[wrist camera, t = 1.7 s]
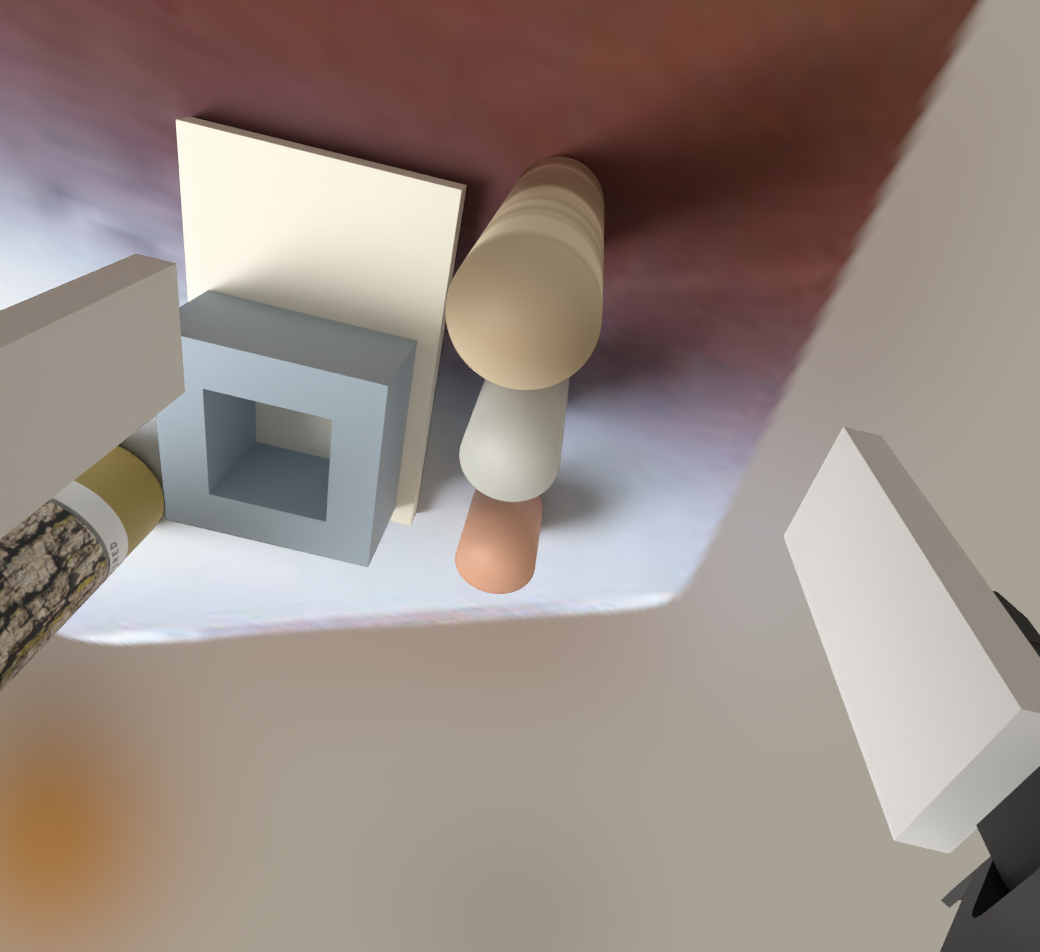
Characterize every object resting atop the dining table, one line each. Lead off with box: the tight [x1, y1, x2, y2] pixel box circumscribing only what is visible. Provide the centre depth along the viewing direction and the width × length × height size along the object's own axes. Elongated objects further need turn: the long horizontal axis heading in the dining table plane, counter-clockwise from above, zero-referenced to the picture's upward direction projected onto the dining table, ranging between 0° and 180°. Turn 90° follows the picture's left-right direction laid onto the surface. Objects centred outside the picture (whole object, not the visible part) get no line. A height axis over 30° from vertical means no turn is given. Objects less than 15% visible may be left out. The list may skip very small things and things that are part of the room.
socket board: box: [156, 117, 467, 567], centre depth 31 cm, size 18×12×6 cm, turn 168°
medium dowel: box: [459, 377, 570, 502], centre depth 30 cm, size 4×4×8 cm
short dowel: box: [455, 489, 543, 594], centre depth 35 cm, size 4×4×5 cm
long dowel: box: [445, 156, 605, 390], centre depth 23 cm, size 4×4×14 cm
